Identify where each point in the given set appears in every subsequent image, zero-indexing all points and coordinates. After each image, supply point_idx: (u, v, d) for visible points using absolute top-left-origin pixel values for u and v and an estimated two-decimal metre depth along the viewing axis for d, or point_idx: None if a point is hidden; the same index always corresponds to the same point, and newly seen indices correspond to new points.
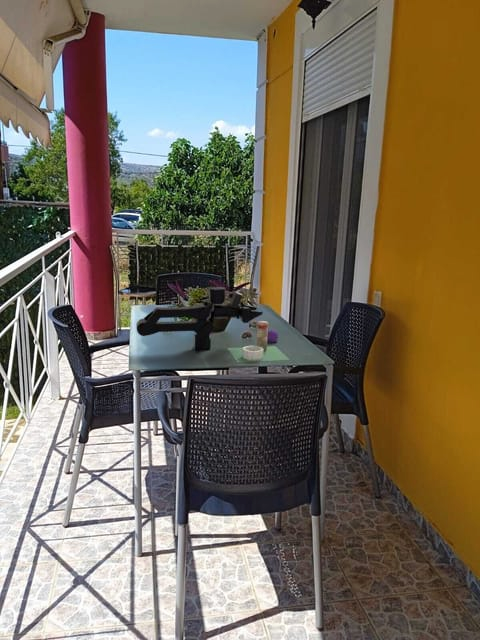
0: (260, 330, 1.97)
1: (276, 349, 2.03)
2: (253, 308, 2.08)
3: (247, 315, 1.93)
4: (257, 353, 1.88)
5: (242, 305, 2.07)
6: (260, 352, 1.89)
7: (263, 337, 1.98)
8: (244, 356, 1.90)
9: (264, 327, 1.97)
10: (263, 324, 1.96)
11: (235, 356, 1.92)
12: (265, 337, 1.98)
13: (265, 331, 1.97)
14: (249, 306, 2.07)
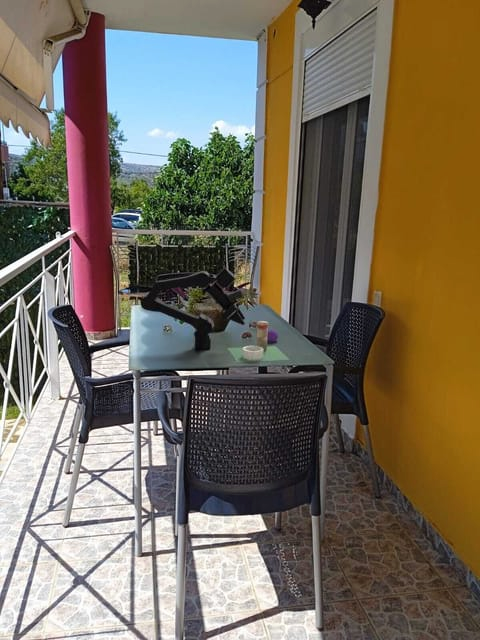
0: (260, 330, 1.97)
1: (276, 349, 2.03)
2: (242, 316, 2.02)
3: (231, 312, 1.88)
4: (257, 353, 1.88)
5: (236, 306, 2.02)
6: (260, 352, 1.89)
7: (263, 337, 1.98)
8: (244, 356, 1.90)
9: (264, 327, 1.97)
10: (263, 324, 1.96)
11: (235, 356, 1.92)
12: (265, 337, 1.98)
13: (265, 331, 1.97)
14: (240, 312, 2.02)
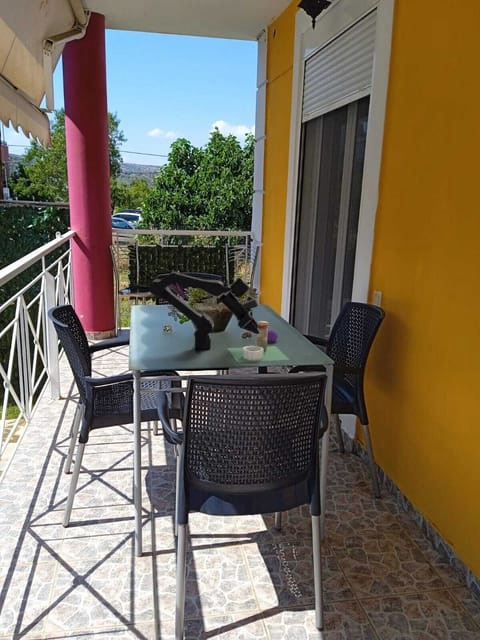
0: (260, 330, 1.97)
1: (276, 349, 2.03)
2: (255, 325, 2.03)
3: (245, 322, 1.89)
4: (257, 353, 1.88)
5: (250, 315, 2.03)
6: (260, 352, 1.89)
7: (263, 337, 1.98)
8: (244, 356, 1.90)
9: (264, 327, 1.97)
10: (263, 324, 1.96)
11: (235, 356, 1.92)
12: (265, 337, 1.98)
13: (265, 331, 1.97)
14: (254, 321, 2.03)
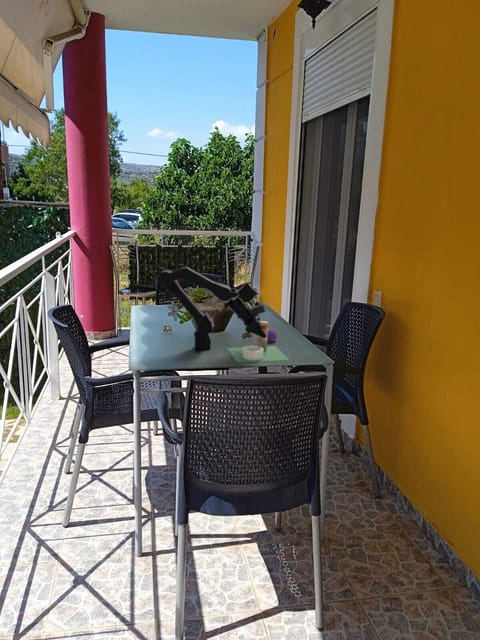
0: None
1: (276, 349, 2.03)
2: None
3: (253, 327, 1.89)
4: (257, 353, 1.88)
5: (257, 321, 2.01)
6: (260, 352, 1.89)
7: None
8: (244, 356, 1.90)
9: (264, 327, 1.97)
10: (263, 324, 1.96)
11: (235, 356, 1.92)
12: None
13: (265, 331, 1.97)
14: None
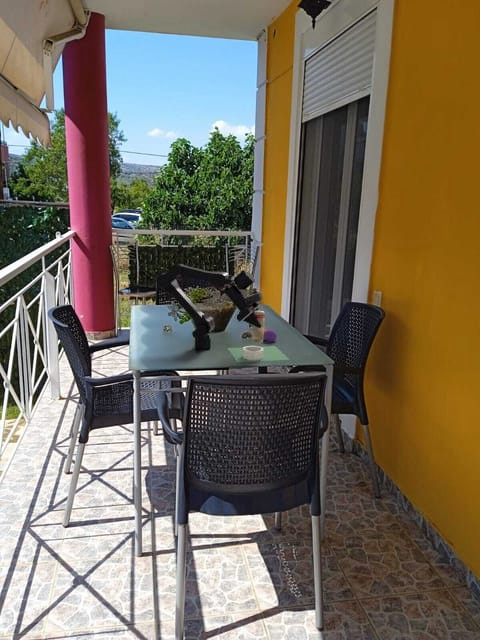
0: None
1: (276, 349, 2.03)
2: None
3: (244, 316, 1.83)
4: (257, 353, 1.88)
5: (255, 310, 1.95)
6: (260, 352, 1.89)
7: None
8: (244, 356, 1.90)
9: (259, 317, 1.90)
10: (258, 313, 1.89)
11: (235, 356, 1.92)
12: None
13: (260, 321, 1.90)
14: None
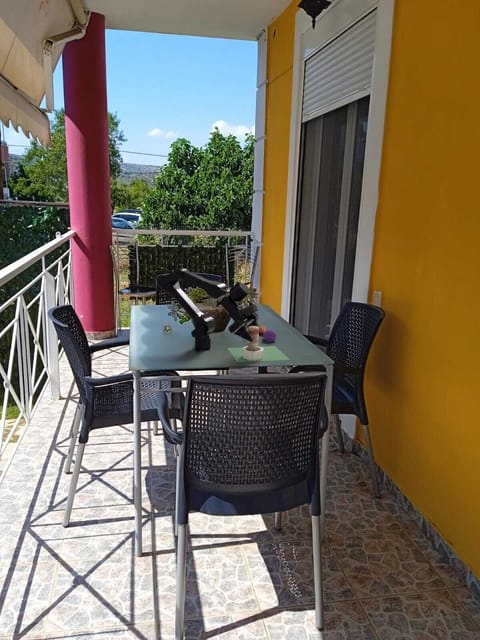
0: None
1: (276, 349, 2.03)
2: None
3: (235, 328, 1.82)
4: (257, 353, 1.88)
5: (253, 321, 1.94)
6: (260, 352, 1.89)
7: (252, 343, 1.88)
8: (244, 356, 1.90)
9: (253, 333, 1.87)
10: (251, 329, 1.87)
11: (235, 356, 1.92)
12: (254, 343, 1.89)
13: (254, 337, 1.88)
14: None
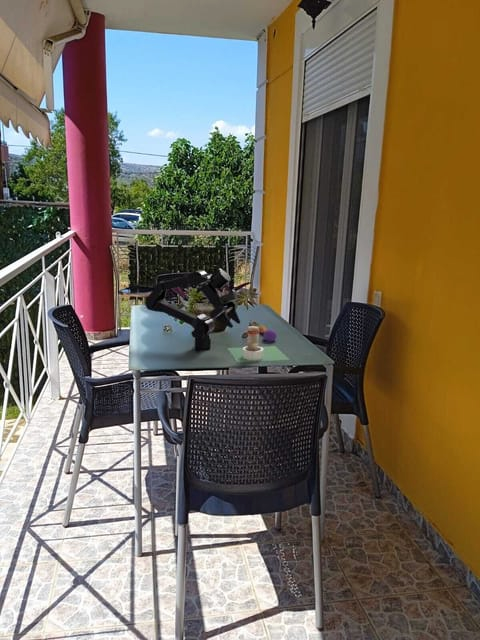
0: (249, 335, 1.88)
1: (276, 349, 2.03)
2: (237, 320, 1.97)
3: (216, 313, 1.85)
4: (257, 353, 1.88)
5: (233, 309, 1.98)
6: (260, 352, 1.89)
7: (252, 343, 1.88)
8: (244, 356, 1.90)
9: (252, 333, 1.87)
10: (251, 329, 1.87)
11: (235, 356, 1.92)
12: (254, 343, 1.88)
13: (254, 337, 1.88)
14: (236, 315, 1.97)
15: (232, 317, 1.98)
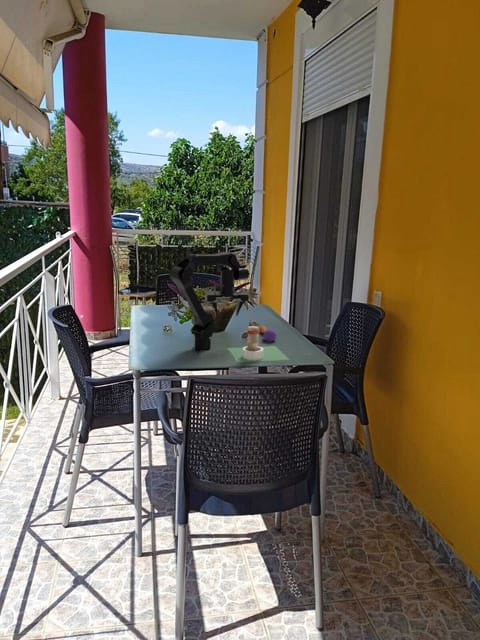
0: (249, 335, 1.88)
1: (276, 349, 2.03)
2: None
3: None
4: (257, 353, 1.88)
5: None
6: (260, 352, 1.89)
7: (252, 343, 1.88)
8: (244, 356, 1.90)
9: (252, 333, 1.87)
10: (251, 329, 1.87)
11: (235, 356, 1.92)
12: (254, 343, 1.88)
13: (254, 337, 1.88)
14: None
15: (216, 308, 2.04)
